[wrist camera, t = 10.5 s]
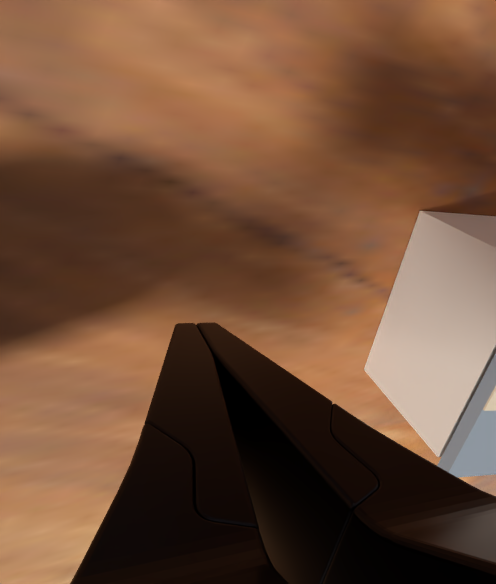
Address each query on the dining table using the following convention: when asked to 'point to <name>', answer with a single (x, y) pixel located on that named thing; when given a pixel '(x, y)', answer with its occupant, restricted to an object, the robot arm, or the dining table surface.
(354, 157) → the dining table surface
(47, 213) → the dining table surface
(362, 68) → the dining table surface
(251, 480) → the robot arm
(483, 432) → the lid
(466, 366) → the storage box
